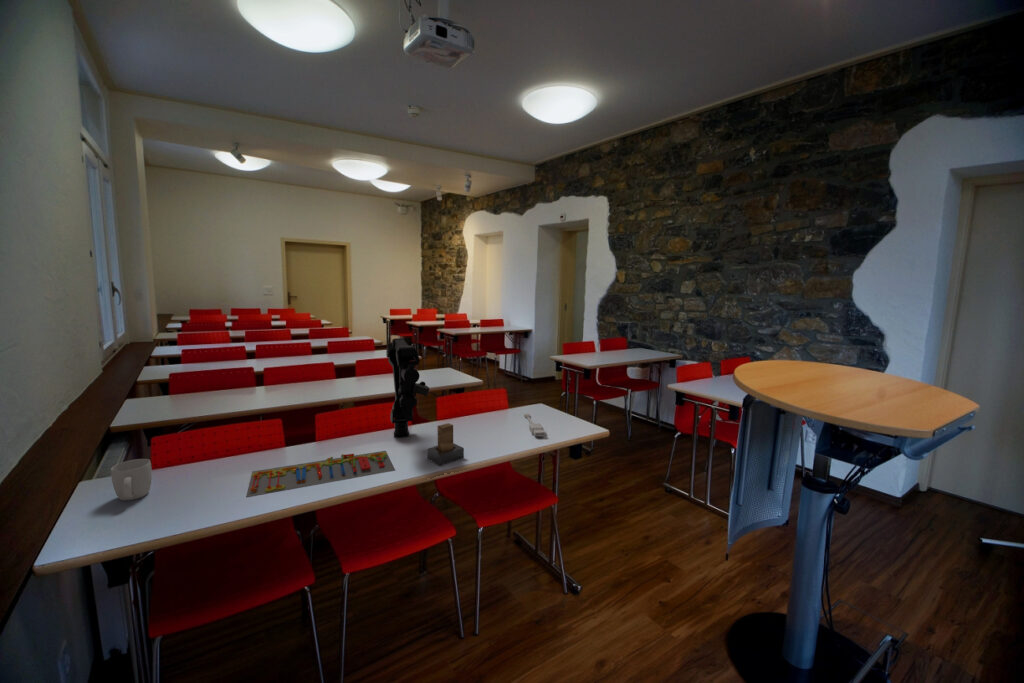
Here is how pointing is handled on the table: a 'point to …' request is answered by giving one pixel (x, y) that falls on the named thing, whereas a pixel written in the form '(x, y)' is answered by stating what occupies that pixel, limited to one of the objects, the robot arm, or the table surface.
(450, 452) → the grey block holder
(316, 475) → the gear board
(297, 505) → the table surface
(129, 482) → the mug
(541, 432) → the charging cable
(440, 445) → the brown wooden block
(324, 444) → the table surface
